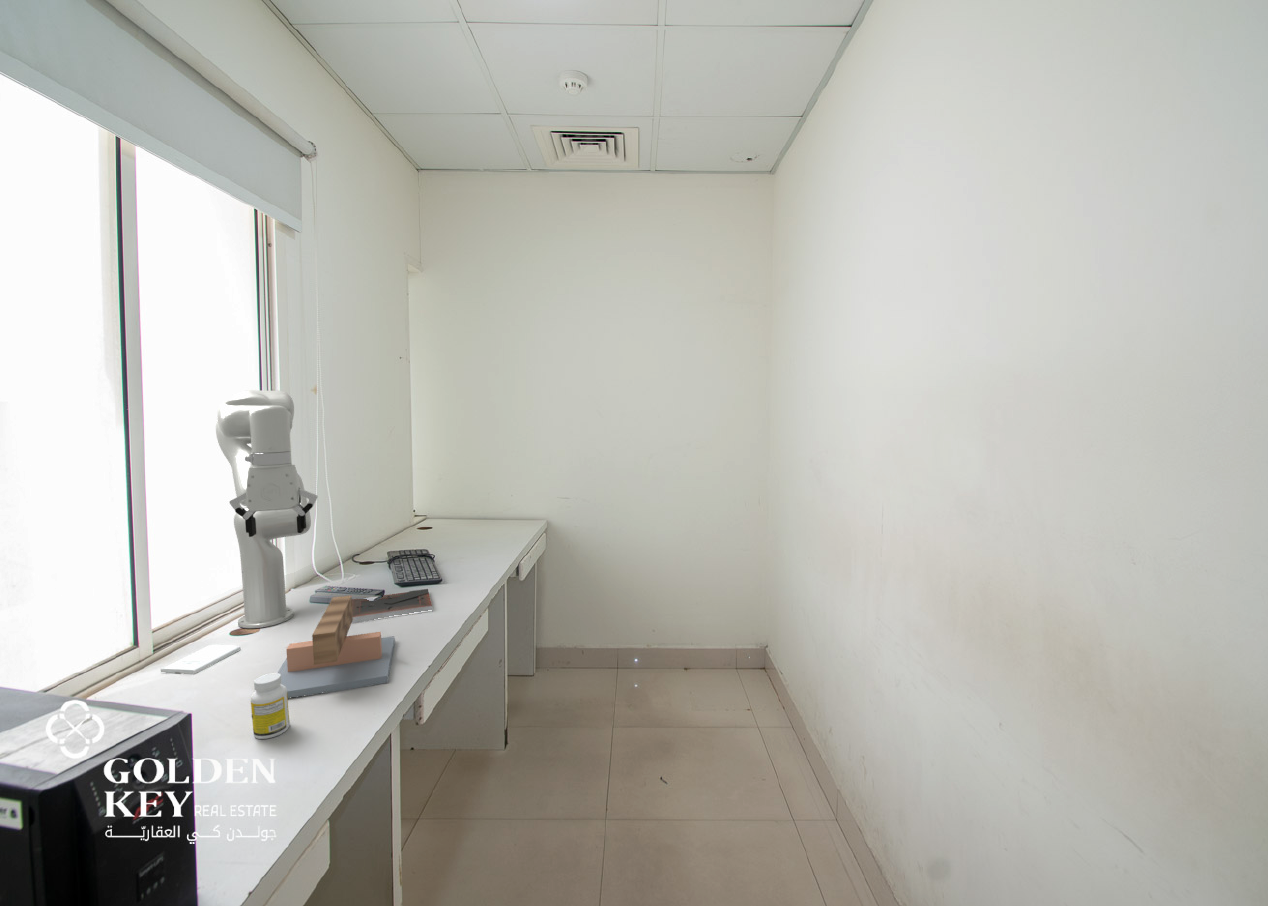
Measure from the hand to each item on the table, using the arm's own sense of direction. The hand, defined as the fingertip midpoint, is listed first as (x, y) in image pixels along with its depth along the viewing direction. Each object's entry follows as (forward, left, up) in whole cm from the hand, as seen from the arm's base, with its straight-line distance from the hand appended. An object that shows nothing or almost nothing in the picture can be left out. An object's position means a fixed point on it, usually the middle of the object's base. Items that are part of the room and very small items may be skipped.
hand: (277, 533), depth 130 cm
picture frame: (-24, +21, -29) cm, 43 cm away
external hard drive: (-2, -17, -29) cm, 34 cm away
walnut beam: (+14, +13, -22) cm, 29 cm away
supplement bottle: (+37, +6, -28) cm, 47 cm away
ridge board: (+14, +13, -28) cm, 34 cm away
